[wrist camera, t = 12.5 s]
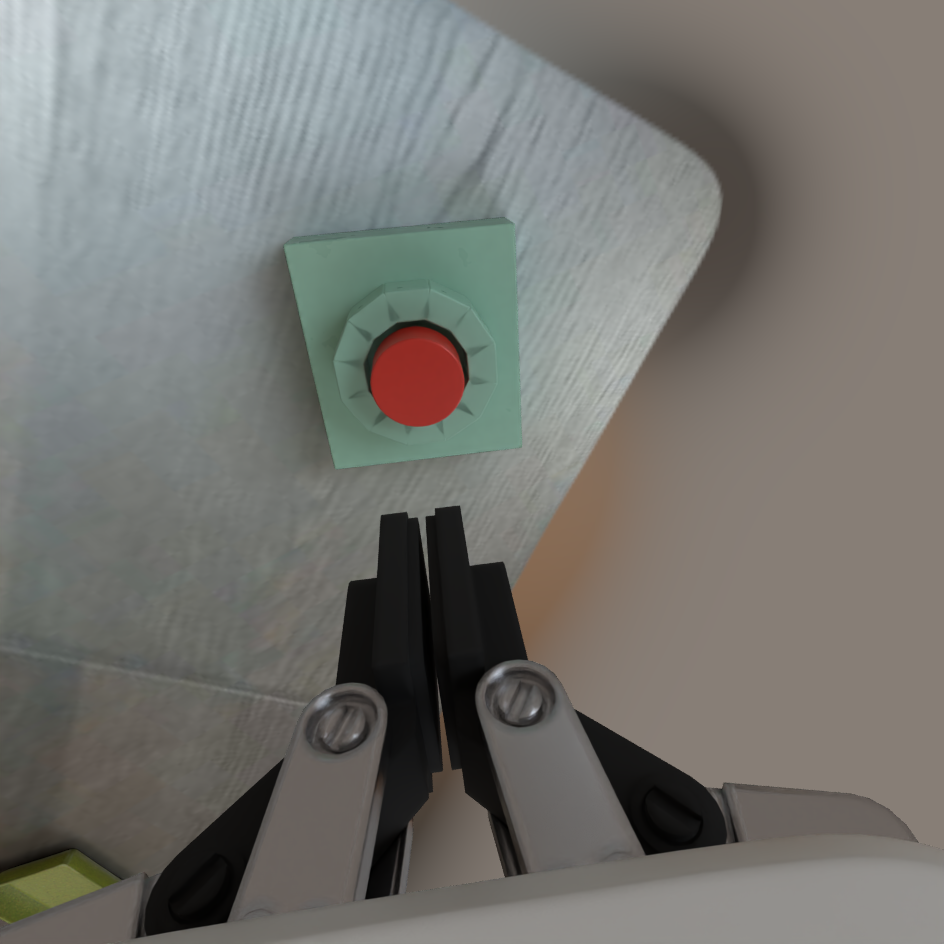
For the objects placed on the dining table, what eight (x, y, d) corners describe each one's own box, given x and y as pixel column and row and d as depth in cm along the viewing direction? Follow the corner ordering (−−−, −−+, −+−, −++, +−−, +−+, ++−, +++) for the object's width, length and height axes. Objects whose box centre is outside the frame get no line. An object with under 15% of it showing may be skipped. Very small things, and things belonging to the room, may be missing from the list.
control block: (292, 237, 23) (272, 251, 20) (506, 216, 23) (523, 227, 20) (339, 448, 28) (330, 490, 25) (514, 428, 29) (529, 466, 25)
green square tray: (78, 834, 42) (64, 865, 40) (149, 884, 46) (139, 913, 44) (-23, 866, 42) (-42, 897, 41) (56, 912, 47) (42, 942, 45)
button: (365, 330, 22) (362, 343, 20) (456, 320, 22) (460, 333, 20) (380, 414, 23) (378, 432, 22) (464, 405, 24) (468, 422, 22)
